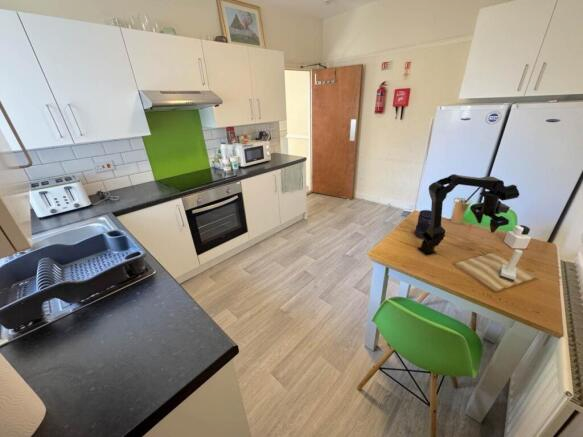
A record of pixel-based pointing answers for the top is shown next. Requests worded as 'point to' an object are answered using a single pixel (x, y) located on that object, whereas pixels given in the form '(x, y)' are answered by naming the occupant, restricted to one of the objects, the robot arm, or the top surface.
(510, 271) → the dish brush
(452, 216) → the utensil holder
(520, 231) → the medicine bottle
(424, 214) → the storage jar
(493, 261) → the chopping board
